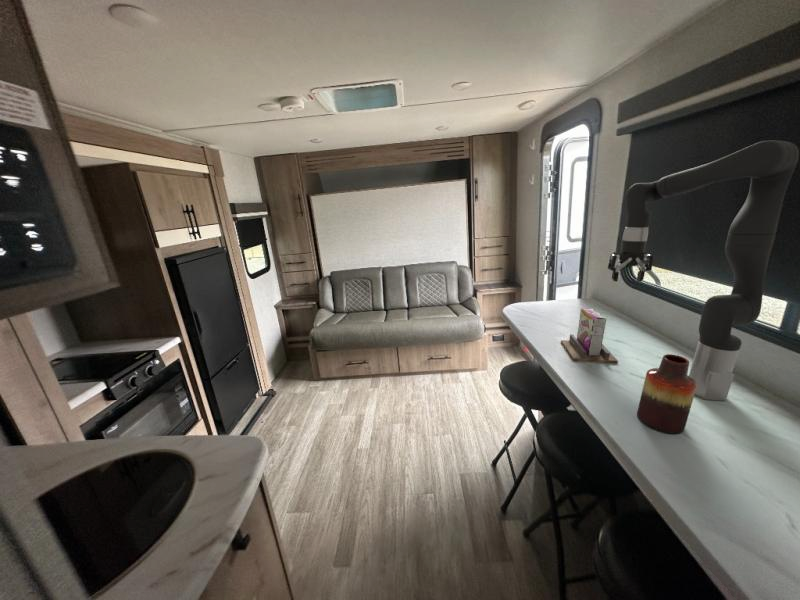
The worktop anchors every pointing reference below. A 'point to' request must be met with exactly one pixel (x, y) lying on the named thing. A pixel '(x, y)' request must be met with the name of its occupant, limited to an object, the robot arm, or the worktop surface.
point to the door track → (581, 355)
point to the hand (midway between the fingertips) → (626, 281)
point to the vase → (667, 396)
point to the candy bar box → (591, 331)
